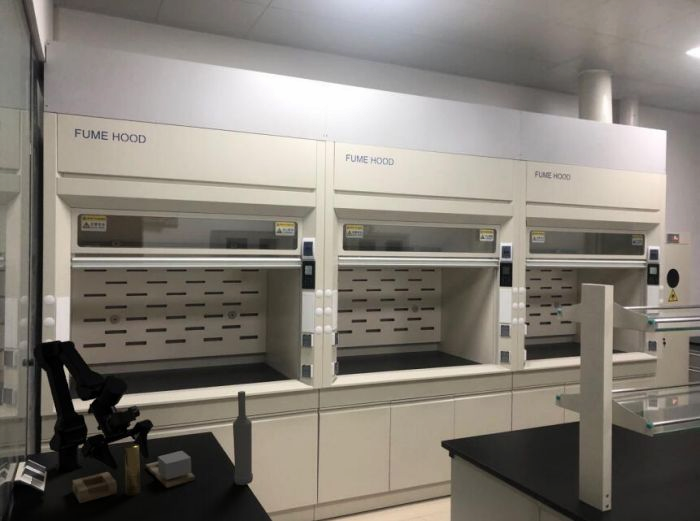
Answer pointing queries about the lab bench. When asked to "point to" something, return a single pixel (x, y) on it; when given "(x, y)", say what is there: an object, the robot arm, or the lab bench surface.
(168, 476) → the cover
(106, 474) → the socket block
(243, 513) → the lab bench surface
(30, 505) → the lab bench surface
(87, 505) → the lab bench surface
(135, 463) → the brass pin
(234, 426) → the bottle
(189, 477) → the plate
